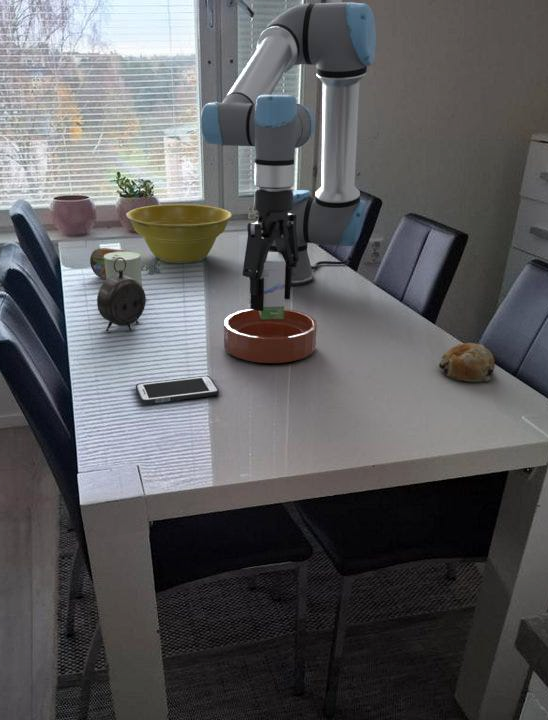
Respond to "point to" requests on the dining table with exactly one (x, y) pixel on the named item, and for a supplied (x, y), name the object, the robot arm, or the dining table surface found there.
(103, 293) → the alarm clock
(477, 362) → the bread roll
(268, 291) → the ink box
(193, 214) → the planter bowl
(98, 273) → the tin
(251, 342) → the bowl
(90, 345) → the dining table surface
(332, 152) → the robot arm
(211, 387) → the cell phone
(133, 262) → the can
